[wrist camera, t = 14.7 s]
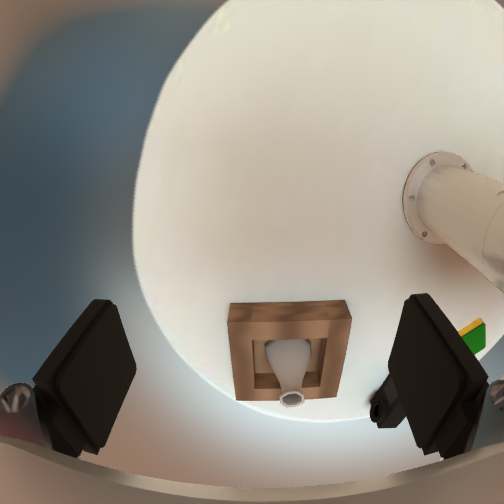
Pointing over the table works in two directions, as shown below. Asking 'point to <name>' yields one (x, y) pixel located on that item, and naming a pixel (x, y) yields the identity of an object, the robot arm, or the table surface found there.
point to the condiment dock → (286, 328)
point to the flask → (289, 367)
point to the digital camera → (387, 406)
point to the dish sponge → (474, 335)
